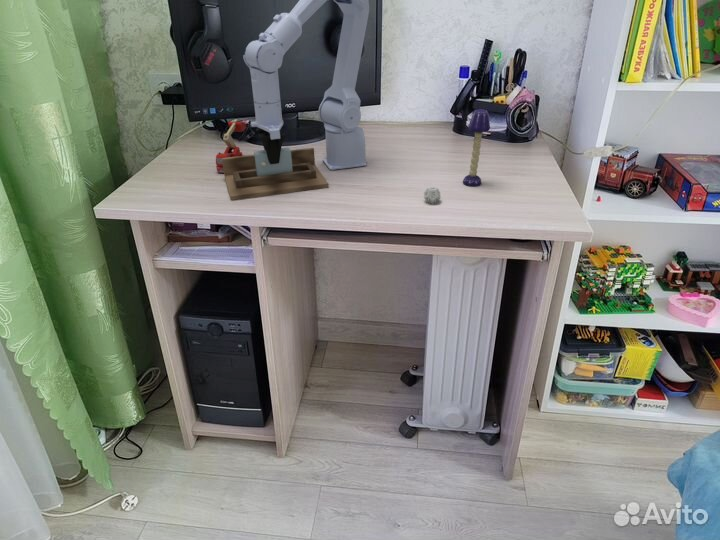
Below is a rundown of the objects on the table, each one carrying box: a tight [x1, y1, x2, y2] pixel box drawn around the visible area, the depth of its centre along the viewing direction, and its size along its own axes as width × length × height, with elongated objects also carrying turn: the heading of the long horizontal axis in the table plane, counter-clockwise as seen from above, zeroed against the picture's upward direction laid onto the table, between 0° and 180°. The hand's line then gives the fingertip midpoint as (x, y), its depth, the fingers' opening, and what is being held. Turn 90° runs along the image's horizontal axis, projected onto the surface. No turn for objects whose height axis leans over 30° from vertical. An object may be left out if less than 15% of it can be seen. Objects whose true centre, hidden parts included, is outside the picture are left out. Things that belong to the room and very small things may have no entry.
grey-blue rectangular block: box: [253, 146, 293, 176], centre depth 125 cm, size 8×3×6 cm, turn 108°
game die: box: [423, 186, 441, 205], centre depth 116 cm, size 4×4×3 cm
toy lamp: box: [462, 108, 491, 187], centre depth 121 cm, size 5×5×17 cm
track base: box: [222, 147, 330, 201], centre depth 126 cm, size 22×14×5 cm, turn 108°
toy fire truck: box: [215, 121, 247, 174], centre depth 136 cm, size 3×14×10 cm, turn 169°
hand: (273, 161), depth 125 cm, fingers closed on grey-blue rectangular block, 2 cm apart
